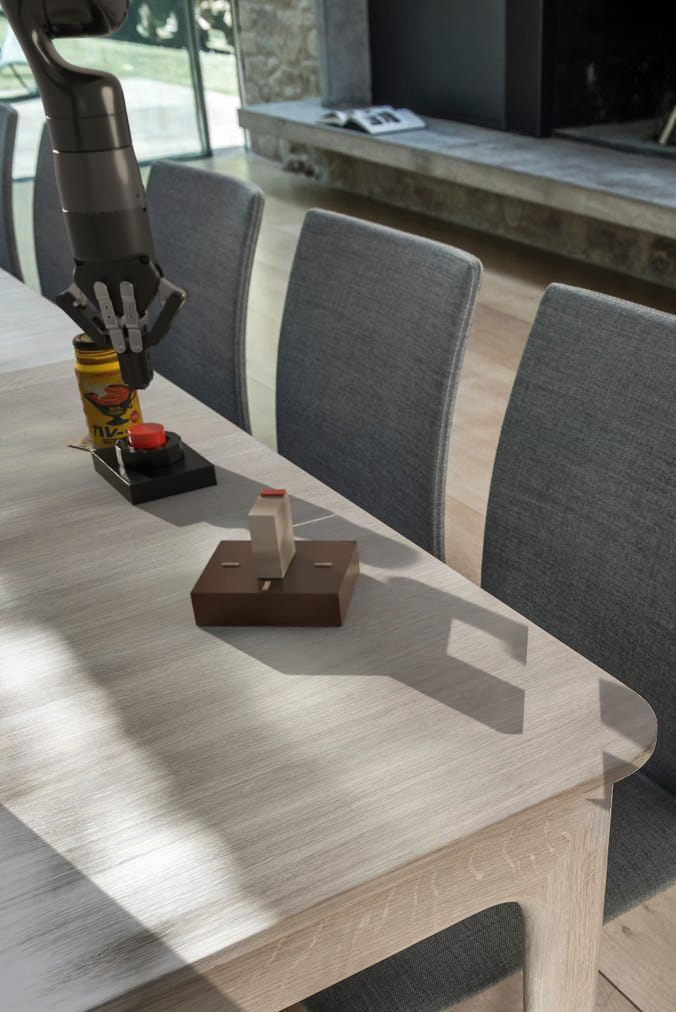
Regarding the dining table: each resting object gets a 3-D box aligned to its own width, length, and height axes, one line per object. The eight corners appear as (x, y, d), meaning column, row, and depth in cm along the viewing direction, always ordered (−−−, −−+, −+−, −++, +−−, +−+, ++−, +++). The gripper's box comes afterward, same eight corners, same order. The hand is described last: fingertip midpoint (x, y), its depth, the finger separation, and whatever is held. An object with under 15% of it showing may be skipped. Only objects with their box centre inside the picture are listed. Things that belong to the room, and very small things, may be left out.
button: (126, 443, 119) (122, 427, 118) (159, 436, 121) (156, 420, 120) (138, 453, 117) (134, 436, 116) (171, 446, 118) (168, 429, 117)
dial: (283, 578, 93) (274, 512, 90) (256, 578, 94) (246, 512, 90) (295, 552, 97) (287, 488, 94) (270, 551, 98) (261, 487, 94)
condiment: (117, 457, 126) (94, 347, 119) (64, 445, 130) (39, 337, 123) (164, 437, 131) (145, 330, 125) (112, 425, 135) (90, 321, 128)
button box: (95, 470, 123) (86, 434, 121) (175, 452, 127) (168, 416, 125) (133, 506, 115) (125, 467, 112) (217, 485, 119) (211, 447, 116)
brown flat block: (195, 625, 93) (189, 591, 92) (225, 571, 102) (220, 538, 100) (341, 626, 93) (338, 591, 91) (360, 571, 101) (357, 538, 99)
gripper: (17, 210, 103) (62, 400, 113) (161, 207, 102) (194, 399, 112) (49, 195, 110) (89, 377, 119) (185, 192, 109) (214, 375, 118)
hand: (140, 387), depth 116 cm, fingers closed
